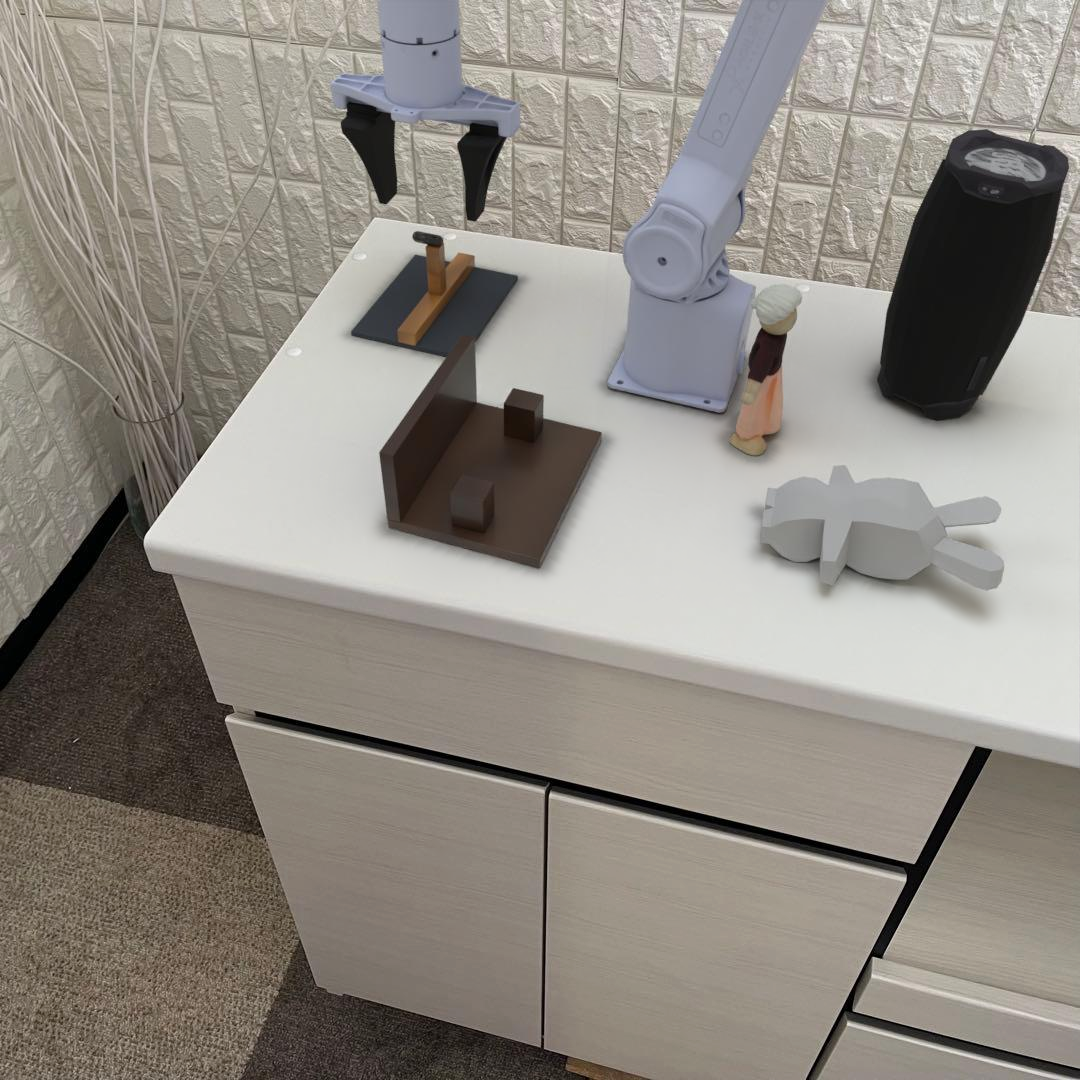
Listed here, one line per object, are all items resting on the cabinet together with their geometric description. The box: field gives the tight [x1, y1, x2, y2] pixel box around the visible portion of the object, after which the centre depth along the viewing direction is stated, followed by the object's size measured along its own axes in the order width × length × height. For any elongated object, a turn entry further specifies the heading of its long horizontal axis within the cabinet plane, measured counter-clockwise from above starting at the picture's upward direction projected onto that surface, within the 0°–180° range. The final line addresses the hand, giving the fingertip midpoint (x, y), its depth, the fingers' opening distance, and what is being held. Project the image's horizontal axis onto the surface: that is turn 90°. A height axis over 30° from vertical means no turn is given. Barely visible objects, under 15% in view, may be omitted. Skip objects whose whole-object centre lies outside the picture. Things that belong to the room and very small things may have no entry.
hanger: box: [397, 230, 476, 346], centre depth 89 cm, size 3×13×6 cm, turn 160°
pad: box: [350, 254, 519, 358], centre depth 91 cm, size 10×13×1 cm
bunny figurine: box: [759, 464, 1005, 591], centre depth 70 cm, size 10×5×15 cm
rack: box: [378, 334, 603, 569], centre depth 73 cm, size 11×14×7 cm
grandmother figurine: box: [729, 283, 803, 456], centre depth 76 cm, size 8×4×13 cm, turn 168°
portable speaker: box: [876, 128, 1070, 421], centre depth 77 cm, size 9×9×20 cm
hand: (431, 206), depth 85 cm, fingers open, 7 cm apart
